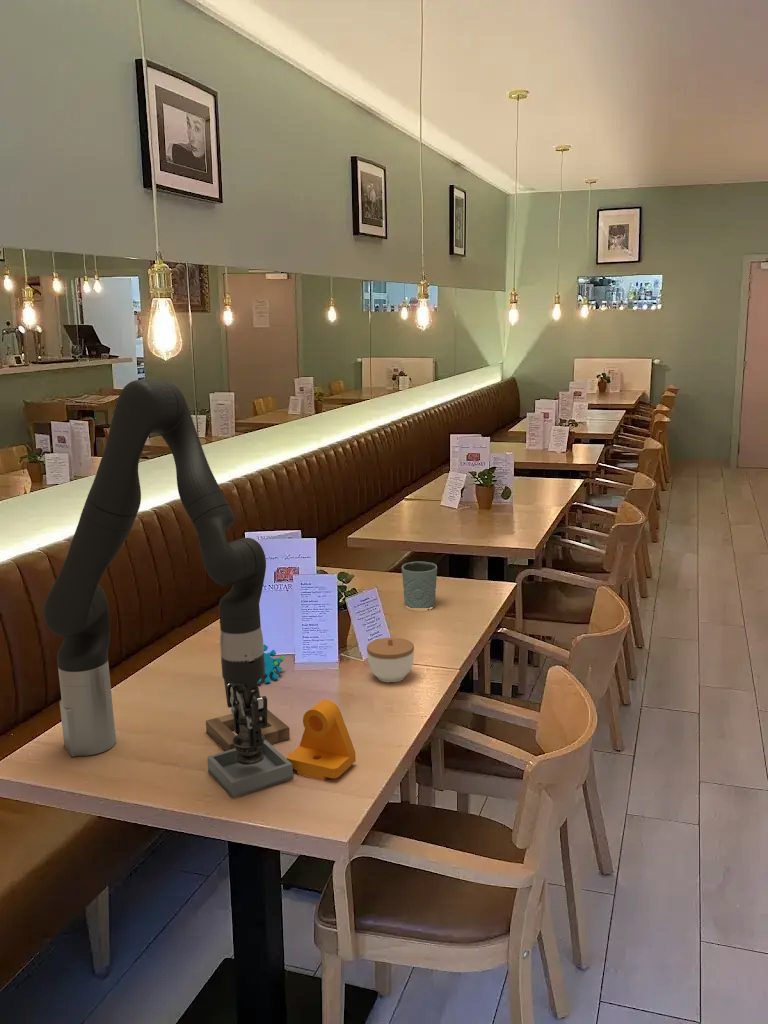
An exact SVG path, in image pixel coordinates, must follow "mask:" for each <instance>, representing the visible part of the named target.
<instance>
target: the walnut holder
mask: <svg viewBox="0 0 768 1024" xmlns="http://www.w3.org/2000/svg"><path fill="white" fill-rule="evenodd" d="M233 730H234V731H235V729H234V715H233V714H232V713H229V714H225V715H223V716H222V715H221V716H218V717H215V718H210V719H207V720H205V731H206V734H207V735H208V736H210V738H211V739H212V740H213V741H214V742H215V743H216V742H217V743H218V744H219V745H220V746H221V747H222V748H223V749H224V750H223V749H222V748H221V747H220V746H219V745H218V744H217V743H216V744H217V745H218V746H219V747H220V748H221V749H222V750H223V752H224V751H228V750H231V749H235V747H234V745H233V743H232V740H233V738H234V737H235V736H237V734H235V732H234V731H233ZM261 734H263V735H264V736H265V740H266V741H267V742H269V743H270V744H271V745H272V746H273V745H275V744H277V743H280V742H285V741H288V740H290V739H291V736H290V734H291V733H290V727H289V725H287V724H286V723H284V722H283V721H282V720H281V719H280V718H279V717H277V716H276V715H275V714H274V713H273V712H271V711H270V710H269V709H268V708H267V726H266V727H262V728H261Z"/></svg>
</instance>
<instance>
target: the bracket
mask: <svg viewBox="0 0 768 1024" xmlns="http://www.w3.org/2000/svg"><path fill="white" fill-rule="evenodd" d="M343 717H344V716H343V715H342V712H341V709H340V708H339V706H338V705H337V703H335V702H334V701H332V700H329V699H322V700H320V701H318V702H317V703H316V704H315V705H313V706H312V707H311V708H309V709H308V710H307V711H305V713H304V714H303V717H302V724H303V727H304V730H303V733H302V737H301V740H300V742H299V746H298V747H296V748H295V749H294V750H292V751H291V752H290V753H288V754H287V755H286V759H287V760H288V761H290V762H291V763H292V765H293V770H295V771H296V774H297V775H300V776H305V777H309V778H311V779H317V780H321V781H324V780H326V779H327V778H330V779H337V778H339V777H341V775H342V774H343V773H345V772H346V771H347V770H348V769H349V768H350V767H351V766H353V764H354V763H356V760H357V759H356V751H355V747H354V745H353V741H352V740H351V737H350V734H349V731H348V728H347V726H346V723H345V720H344V718H343Z"/></svg>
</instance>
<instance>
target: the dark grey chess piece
mask: <svg viewBox="0 0 768 1024" xmlns="http://www.w3.org/2000/svg"><path fill="white" fill-rule="evenodd" d="M238 707H239V719H238V720H237V722H238V723H239V728H240V732H239V734H236V736H235V737H234V738H233V740H232V743H233V745H234V747H235V749H236V751H237V752H238V753H239V754H237V755H236V757H235V760H236V762H237V763H239V764H243V765H251V764H256V763H258V762H260V761H262V760H263V759H264V753H263V752H261V751H260V750H261V749H262V747H263V742H264V740H265V736H264V735H263V734H262V745H261V746H259V747H255V748H251V747H250V746H249V736H248V725H247V720H246V717H244V716H243V715H242V711H241V707H240V704H239V706H238ZM251 710H252V707H251V708H247V711H251ZM251 720H252V715H251Z"/></svg>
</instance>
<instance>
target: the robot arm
mask: <svg viewBox="0 0 768 1024" xmlns="http://www.w3.org/2000/svg"><path fill="white" fill-rule="evenodd" d="M191 414H192V413H191V411H190V408H189V406H188V403H187V401H186V398H185V396H184V395H183V392H182V391H181V390H180V389H179V388H178V387H177V386H176V385H175V384H173V383H171V382H167V381H163V380H149V379H135V380H132V381H130V382H129V383H127V384H126V385H125V386H124V387H123V388H122V389H121V391H120V393H119V395H118V397H117V400H116V403H115V407H114V410H113V415H112V418H111V424H110V426H109V427H110V428H109V430H108V434H107V435H108V436H107V439H106V443H105V447H104V450H103V453H102V456H101V459H100V460H99V465H98V467H97V470H96V474H95V477H94V479H93V482H92V485H91V487H90V489H89V491H88V494H87V497H86V499H85V502H84V506H83V507H82V511H81V513H80V516H79V520H78V522H77V523H78V524H77V526H76V528H75V532H74V533H73V536H72V540H71V543H70V546H69V548H68V551H67V555H66V558H65V560H64V562H63V565H62V567H61V570H60V571H59V573H58V575H57V578H56V579H55V581H54V583H53V586H52V588H51V589H50V591H49V593H48V595H47V598H46V600H45V602H44V606H43V619H44V622H45V625H46V626H47V629H49V631H51V633H52V634H54V635H56V636H58V637H63V640H62V643H61V644H60V647H59V649H58V650H57V653H56V662H57V669H58V679H59V681H58V682H59V688H60V697H61V699H60V700H59V709H60V711H59V712H60V718H61V728H62V735H63V737H62V738H63V744H64V745H63V746H64V747H65V749H66V750H67V752H68V754H69V755H70V757H71V758H73V757H79V756H81V757H85V756H93V755H98V754H102V753H104V752H107V751H108V750H110V749H112V748H113V747H114V746H115V745H116V743H117V733H116V732H117V731H116V727H115V726H116V724H115V716H114V706H113V705H114V704H113V696H112V687H111V677H110V676H111V675H110V666H109V665H110V664H109V656H108V655H109V654H108V652H109V648H110V643H111V630H110V629H111V625H110V611H109V610H110V609H109V608H110V607H109V602H108V599H107V598H108V597H107V595H106V593H105V590H104V589H103V588H102V586H101V585H100V584H99V583H100V581H101V579H102V576H103V575H104V573H105V572H106V570H107V568H108V567H109V565H110V564H111V563H112V561H113V560H114V558H116V555H118V553H119V552H120V550H121V548H123V545H124V544H125V542H126V540H127V539H128V537H129V536H130V535H129V534H130V532H131V530H132V528H133V526H134V525H135V521H136V518H137V517H138V516H137V515H138V513H139V509H140V507H141V502H142V490H141V483H140V476H139V465H140V458H141V456H142V452H143V450H144V449H145V446H146V445H145V444H146V443H147V440H148V438H149V437H150V435H151V434H159V435H160V436H161V438H162V439H163V440H164V441H165V443H166V445H167V446H168V448H169V450H170V452H171V454H172V456H173V460H174V465H175V473H176V485H177V491H178V496H179V498H180V502H181V503H182V506H183V508H184V510H185V512H186V513H187V515H188V518H189V519H190V521H191V524H192V525H193V527H194V528H195V531H196V534H197V539H198V544H199V548H200V552H201V557H202V562H203V565H204V569H205V571H206V574H207V575H208V576H209V578H210V579H211V581H213V582H214V583H216V584H218V585H220V586H222V587H228V586H231V589H230V590H229V591H228V592H227V593H225V595H223V596H222V597H221V598H220V600H219V602H218V615H219V625H220V627H219V628H220V629H219V631H220V633H219V634H220V637H219V648H220V659H221V660H220V662H221V663H220V664H221V673H222V674H221V675H222V679H223V681H224V689H225V697H226V698H225V699H226V705H227V708H231V709H230V712H231V714H233V715H234V729H235V730H234V734H235V733H236V734H235V735H239V732H240V728H239V723H238V722H237V720H238V719H239V707H238V706H239V704H240V707H241V711H242V715H243V716H244V717H246V720H247V725H248V736H249V746H250V747H251V748H255V747H259V746H261V745H262V734H261V729H262V727H266V726H267V709H268V698H267V696H266V695H264V696H261V691H260V687H259V683H257V682H258V681H259V680H260V679H262V678H263V677H264V676H265V662H264V653H265V651H264V646H263V645H264V637H263V631H262V624H261V609H260V600H261V597H262V593H263V588H264V583H265V578H266V577H265V576H266V569H267V558H266V554H265V551H264V548H263V547H262V546H261V543H260V542H258V541H257V540H256V539H254V538H252V537H242V538H239V539H235V540H232V541H230V542H228V540H227V536H226V531H227V530H229V529H230V528H231V527H232V526H233V525H234V523H235V518H236V517H235V514H234V512H233V510H232V508H231V506H230V504H229V502H228V500H227V499H226V496H225V495H224V493H223V491H222V489H221V488H220V485H219V484H218V482H217V480H216V477H215V476H214V474H213V471H212V469H211V468H210V464H209V462H208V460H207V457H206V454H205V451H204V449H203V446H202V443H201V440H200V438H199V434H198V432H197V430H196V427H195V423H194V419H193V417H192V415H191ZM251 707H252V710H251V711H247V708H251ZM251 715H252V720H251Z"/></svg>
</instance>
